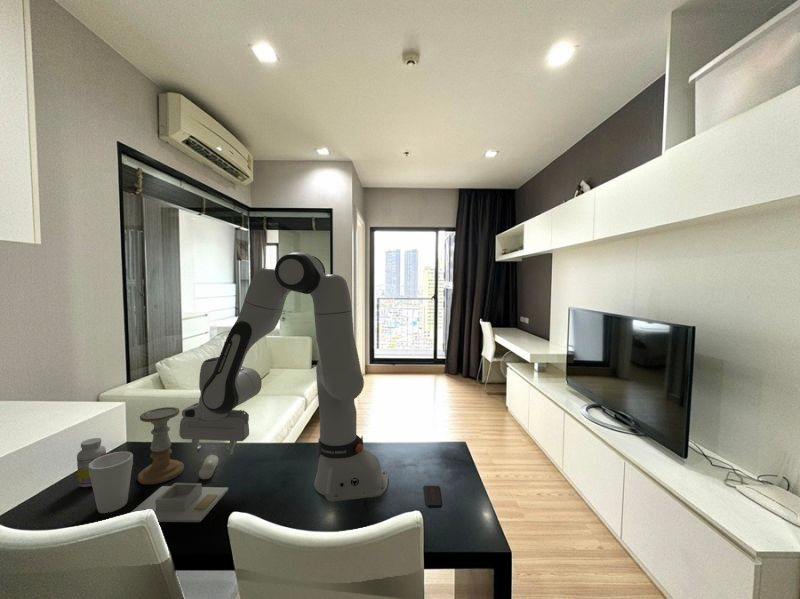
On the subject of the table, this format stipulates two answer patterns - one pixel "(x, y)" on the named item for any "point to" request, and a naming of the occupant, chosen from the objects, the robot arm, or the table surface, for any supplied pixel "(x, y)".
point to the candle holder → (160, 448)
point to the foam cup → (111, 480)
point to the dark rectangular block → (432, 496)
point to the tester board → (183, 502)
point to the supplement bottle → (88, 459)
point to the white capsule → (208, 467)
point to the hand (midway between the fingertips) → (214, 452)
